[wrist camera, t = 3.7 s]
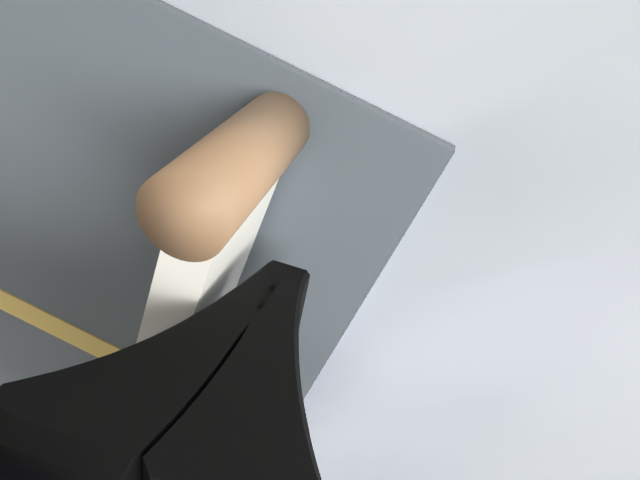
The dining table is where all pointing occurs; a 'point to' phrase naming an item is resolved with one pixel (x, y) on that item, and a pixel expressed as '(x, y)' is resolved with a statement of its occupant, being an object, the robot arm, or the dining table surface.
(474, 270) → the dining table surface
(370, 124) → the card
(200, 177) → the hinged fence panel
